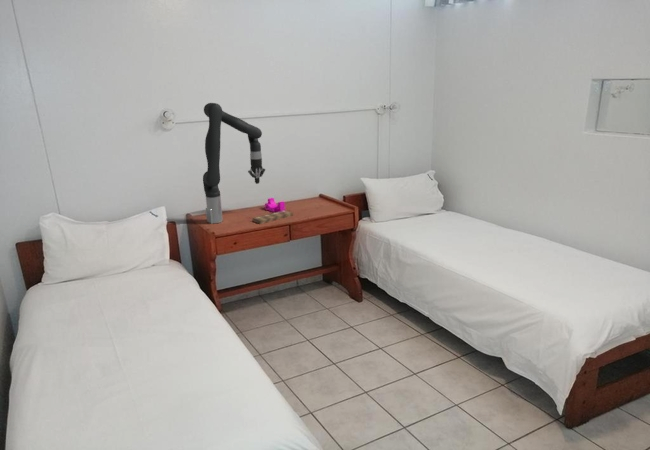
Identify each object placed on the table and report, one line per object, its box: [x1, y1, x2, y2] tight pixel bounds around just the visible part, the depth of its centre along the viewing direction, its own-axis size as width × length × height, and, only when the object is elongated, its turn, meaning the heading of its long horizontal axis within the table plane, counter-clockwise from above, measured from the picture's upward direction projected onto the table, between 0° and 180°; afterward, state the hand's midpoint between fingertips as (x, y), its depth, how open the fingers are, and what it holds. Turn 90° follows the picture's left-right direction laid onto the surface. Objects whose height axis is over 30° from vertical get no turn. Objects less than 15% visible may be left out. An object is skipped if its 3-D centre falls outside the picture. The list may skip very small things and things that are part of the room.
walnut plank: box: [252, 209, 293, 225], centre depth 310 cm, size 26×9×2 cm, turn 131°
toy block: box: [264, 197, 286, 213], centre depth 327 cm, size 15×6×8 cm, turn 41°
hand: (257, 183), depth 316 cm, fingers closed
